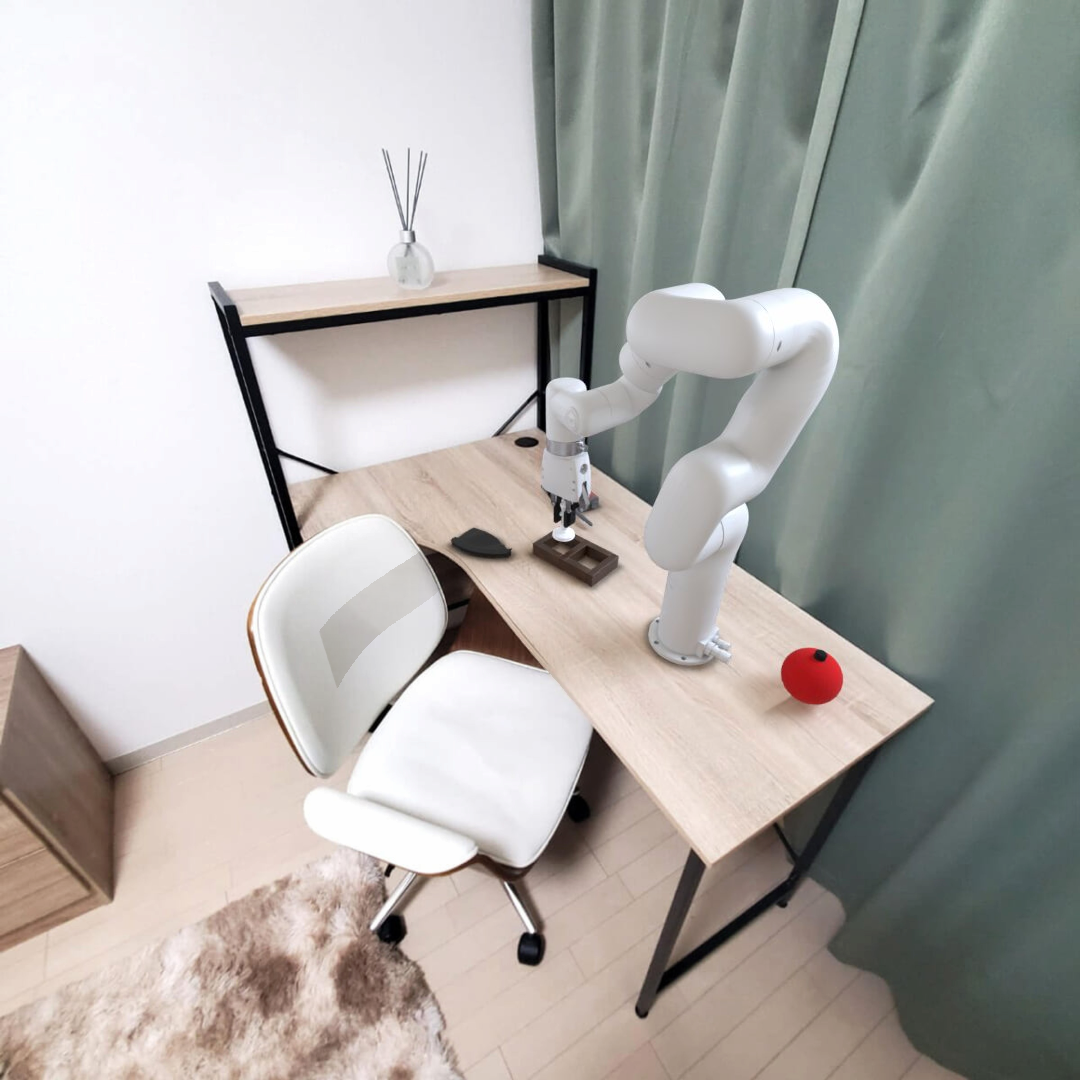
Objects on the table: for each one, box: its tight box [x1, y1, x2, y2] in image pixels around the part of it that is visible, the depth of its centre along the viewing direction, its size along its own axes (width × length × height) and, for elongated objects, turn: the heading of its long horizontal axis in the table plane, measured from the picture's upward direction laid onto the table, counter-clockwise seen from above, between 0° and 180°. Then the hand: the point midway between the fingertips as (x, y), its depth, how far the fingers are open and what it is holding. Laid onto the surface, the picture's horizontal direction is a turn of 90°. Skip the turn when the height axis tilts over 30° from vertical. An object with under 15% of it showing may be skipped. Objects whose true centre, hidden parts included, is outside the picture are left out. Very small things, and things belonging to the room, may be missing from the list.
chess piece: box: [552, 498, 576, 542], centre depth 113 cm, size 5×5×10 cm
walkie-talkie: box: [572, 490, 600, 527], centre depth 134 cm, size 9×4×20 cm
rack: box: [532, 525, 619, 588], centre depth 117 cm, size 17×9×3 cm, turn 47°
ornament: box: [780, 647, 844, 706], centre depth 85 cm, size 9×9×10 cm
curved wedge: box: [450, 527, 513, 559], centre depth 120 cm, size 8×14×2 cm, turn 52°
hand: (564, 522), depth 114 cm, fingers closed on chess piece
